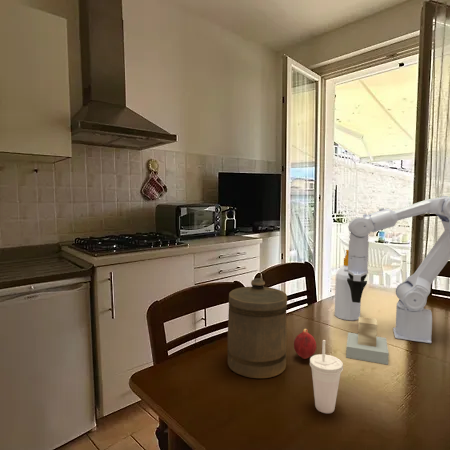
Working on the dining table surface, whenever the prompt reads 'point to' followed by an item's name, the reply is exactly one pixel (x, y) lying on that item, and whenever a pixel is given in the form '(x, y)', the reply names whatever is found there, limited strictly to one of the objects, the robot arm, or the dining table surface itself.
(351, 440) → the dining table surface
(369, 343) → the block
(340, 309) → the soap bottle
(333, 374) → the smoothie
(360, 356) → the base
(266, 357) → the wooden container
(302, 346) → the onion
